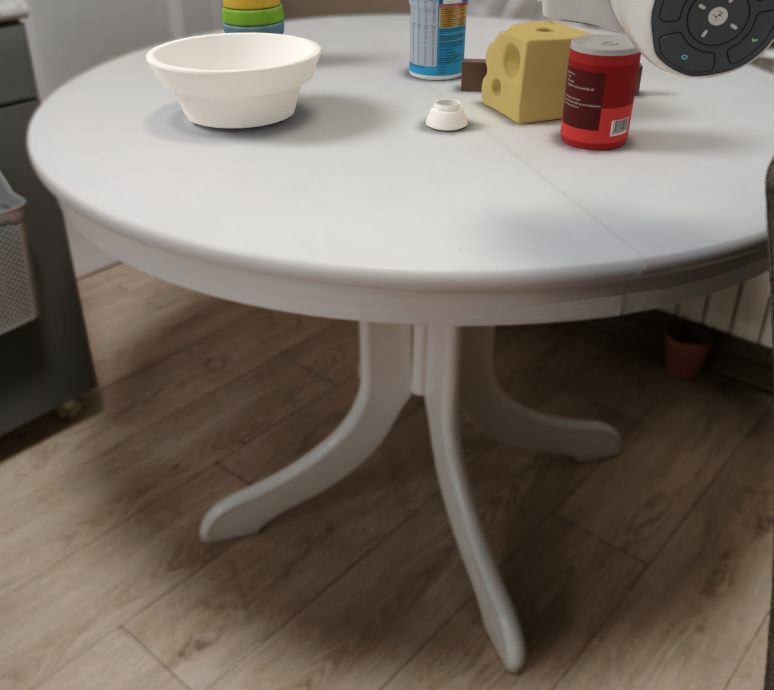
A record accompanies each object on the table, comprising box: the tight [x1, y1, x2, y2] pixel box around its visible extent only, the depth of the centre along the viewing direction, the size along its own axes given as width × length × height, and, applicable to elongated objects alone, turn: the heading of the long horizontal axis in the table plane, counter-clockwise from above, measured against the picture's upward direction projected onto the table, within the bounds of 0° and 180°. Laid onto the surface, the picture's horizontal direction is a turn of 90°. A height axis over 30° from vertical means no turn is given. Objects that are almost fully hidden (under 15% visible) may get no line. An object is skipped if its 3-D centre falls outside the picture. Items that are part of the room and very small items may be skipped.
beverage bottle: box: [408, 0, 470, 81], centre depth 114 cm, size 8×8×20 cm
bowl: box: [145, 32, 323, 129], centre depth 100 cm, size 21×21×8 cm
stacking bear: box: [221, 0, 285, 34], centre depth 121 cm, size 11×10×18 cm
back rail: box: [460, 58, 644, 97], centre depth 110 cm, size 24×2×4 cm, turn 83°
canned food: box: [560, 33, 642, 151], centre depth 91 cm, size 8×8×11 cm
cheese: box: [481, 20, 594, 125], centre depth 101 cm, size 10×11×10 cm
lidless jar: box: [425, 98, 468, 132], centre depth 97 cm, size 5×3×5 cm
